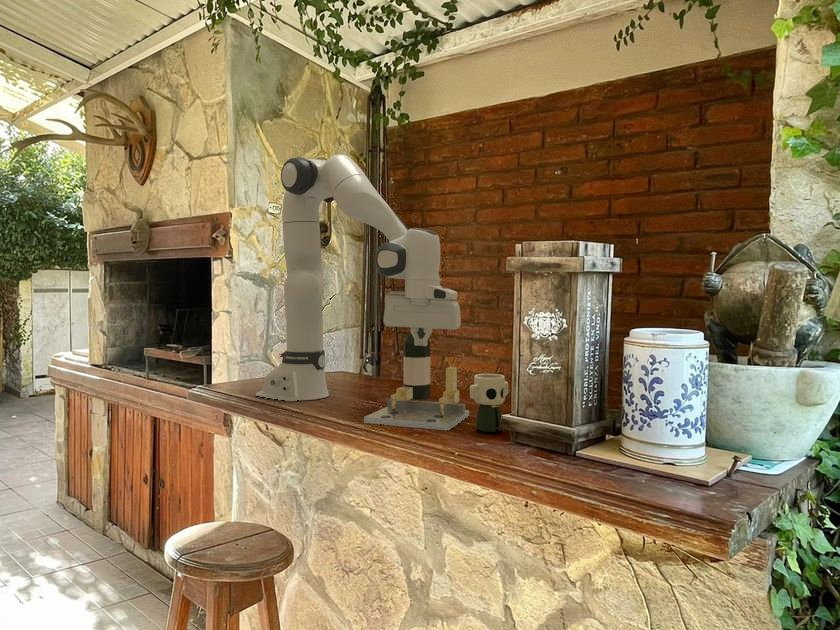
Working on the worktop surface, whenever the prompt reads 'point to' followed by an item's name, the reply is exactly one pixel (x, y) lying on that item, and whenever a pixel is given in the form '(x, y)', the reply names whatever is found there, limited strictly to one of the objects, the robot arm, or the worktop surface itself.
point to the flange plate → (417, 412)
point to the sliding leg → (450, 389)
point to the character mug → (489, 400)
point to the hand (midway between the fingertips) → (420, 345)
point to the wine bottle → (417, 366)
